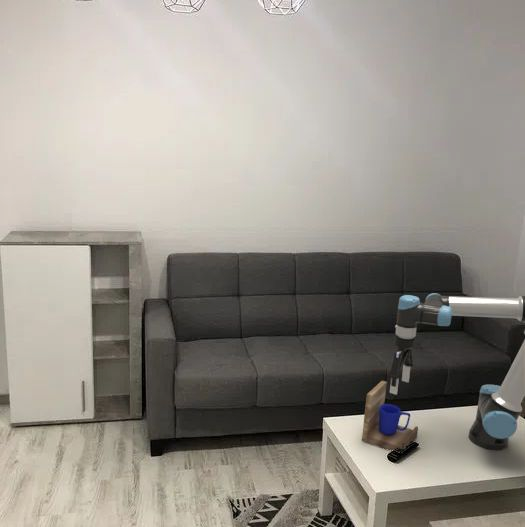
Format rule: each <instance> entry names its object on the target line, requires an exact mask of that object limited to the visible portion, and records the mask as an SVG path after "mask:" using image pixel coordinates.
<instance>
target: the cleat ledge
mask: <svg viewBox="0 0 525 527" xmlns="http://www.w3.org/2000/svg"><path fill="white" fill-rule="evenodd" d="M398 427H399V428H404V427H405V426H402V425H399V424H398ZM418 431H419V426H415V427H414V428H413V429H411V428H408V427H407V428H406V429H405V430H404V431H400V430H398V429H397V430H396V432H395V434H393V435H386V434H383V433H381V432H380V430H379V424H378V425H377V426H376V427H375V428H374V429H373V430H372V431H371V432H370V433H369V434H368V435H367V441H366V442H365V443H366V444H369V445H373V446H375V447H377V446H378V448H381V449H383V448H384V450H386V449H388V450H387V451H389V450H391V451H390V452H392V450H395V449H397V448H400V449H405V448H406V446H407V445H408V444H409V443H410V442H411V441H414V442H415V441H416V440H417V439H418V433H419V432H418Z"/></svg>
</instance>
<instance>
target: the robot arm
mask: <svg viewBox="0 0 525 527" xmlns="http://www.w3.org/2000/svg"><path fill="white" fill-rule="evenodd" d="M452 316H455V317H457V316H458V317H480V318H498V319H500V318H501V319H507V318H508V319H517V320H518V321H519V322H525V295H519V296H518V297H516V298H515V297H514V298H512V297H481V296H451V295H441V294H439V293H436V292H435V293H433V292H432V293H430V294H428V295H427V296H426V297H425V301H424V302H421V301H420V298H419V297H418V296H415V295H410V294H405V295H402V296H400V297H399V299H398V306H397V316H396V325H395V326H394V328H395V335H394V341H393V343H394V345H395V346H396V347H397V348H398V349H397V350H396V351H395V352H394V356H393V361H392V364H391V368H390V372H389V375H388V377H389V379H390V385H389V386H390V387H389V394H393V395H397V394H398V392H399V391H398V388H399V376H400V372H401V371H402V372H401V373H402V375H401V382H405V383H410V375H411V367H414V356H413V348H414V347H415V342H416V335H417V329H418V328H417V327H418V326H417V324H427V325H433V326H438V327H449V326H450V325H451V323H452V322H451V321H452ZM523 333H524V334H525V329H524V330H523ZM402 366H403V367H402ZM401 369H402V370H401ZM478 396H479V397H478V402H477V409H476V416H475V420H474V421H473V424H472V425H471V427H470V429H469V430H468V439H469V440H470V441H471V442H472V443H473V444H475V445H477V446H479V447H480V448H484V449H488V450H492V451H493V450H495V451H498V450H499V451H500V450H504V449H507V447H508V446H509V439H510V437H513V435H514V434H515V433H516V432H517V429H518V422H517V421H518V418H519V417H520V415H521V413H522V411H523V407H522V405H521V403H522V402H523V399H524V398H525V339H524V340H523V342H522V343H521V346H520V348H519V350H518V352H517V354H516V356H515V358H514V360H513V362H512V364H511V366H510V368H509V370H508V372H507V374H506V375H505V378H504V380H503V381H502V383H501V385H497V384H496V385H495V384H483V385H482V386H481V387H480V390H479V395H478Z"/></svg>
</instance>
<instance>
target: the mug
mask: <svg viewBox="0 0 525 527" xmlns="http://www.w3.org/2000/svg"><path fill="white" fill-rule="evenodd" d="M403 415H404V416H407V420H406V424H405V426H403V427H404V428H399V427H398V425H399V424H400V423H399V422H400V419H401V416H403ZM410 418H411V413H410V412H404V411H401V408H399V406H397V405H394V404H389V403H384V404H383V405H381V406H380V407H379V430H380V432H381V433H383V434H386V435H393V434H395V432H396V430H397V429H398V430H400V431H404V430H405V429H406V428H408V427H409V423H410Z"/></svg>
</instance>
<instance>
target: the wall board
mask: <svg viewBox="0 0 525 527" xmlns="http://www.w3.org/2000/svg"><path fill="white" fill-rule="evenodd" d="M387 384H388V382H387V381H385V380H381V381H380V382H379V383H377V385H376V386H374V387H373V388H372V389H371V390H370V391H369V392H368V393H367V394H366V396H365V397H366V399H365V408H364V416H363V424H362V435H361V442H363V443H366V441H367V435H368V434H369V433H370V432H371V431H372V430H373V429H374V428H375V427H376V426H377V425H378V424H379V407H380V406H381V405H383V404H385V401H386V393H387V392H386V390H387Z"/></svg>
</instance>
